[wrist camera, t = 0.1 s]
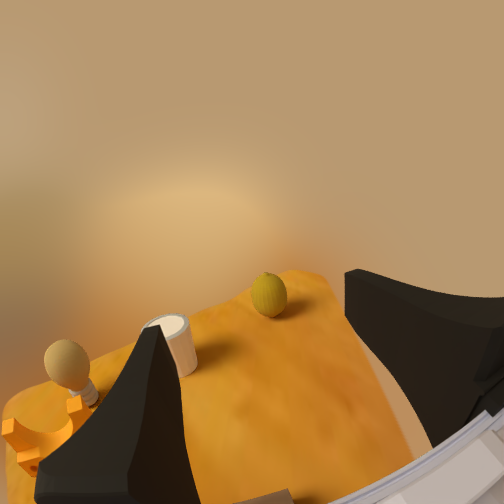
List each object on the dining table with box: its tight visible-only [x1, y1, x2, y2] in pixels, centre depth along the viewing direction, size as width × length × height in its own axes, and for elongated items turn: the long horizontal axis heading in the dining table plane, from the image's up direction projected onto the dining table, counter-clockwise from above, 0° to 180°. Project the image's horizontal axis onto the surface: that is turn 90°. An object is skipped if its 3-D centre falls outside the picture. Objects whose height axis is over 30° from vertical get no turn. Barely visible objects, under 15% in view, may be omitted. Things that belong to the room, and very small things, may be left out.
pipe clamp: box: [2, 395, 93, 477], centre depth 26 cm, size 12×4×6 cm, turn 122°
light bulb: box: [44, 340, 99, 406], centre depth 34 cm, size 6×6×10 cm
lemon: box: [251, 272, 287, 318], centre depth 49 cm, size 6×6×8 cm
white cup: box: [141, 313, 198, 378], centre depth 41 cm, size 7×7×7 cm
